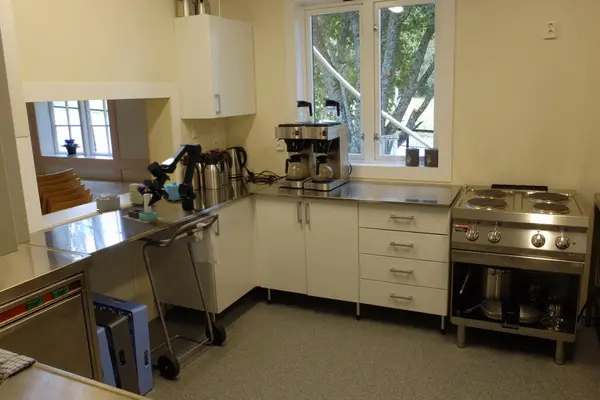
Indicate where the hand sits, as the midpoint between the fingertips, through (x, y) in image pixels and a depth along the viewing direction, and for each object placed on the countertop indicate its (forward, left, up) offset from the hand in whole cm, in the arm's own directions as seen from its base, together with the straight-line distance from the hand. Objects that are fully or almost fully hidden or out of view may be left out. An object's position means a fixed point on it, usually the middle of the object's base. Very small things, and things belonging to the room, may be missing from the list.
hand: (145, 205), depth 274 cm
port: (-1, -1, -7) cm, 8 cm away
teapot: (-14, -56, -9) cm, 58 cm away
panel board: (+2, -4, -8) cm, 10 cm away
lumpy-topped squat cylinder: (+24, -32, -9) cm, 41 cm away
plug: (-1, -1, -6) cm, 6 cm away
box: (+8, -47, -9) cm, 48 cm away
